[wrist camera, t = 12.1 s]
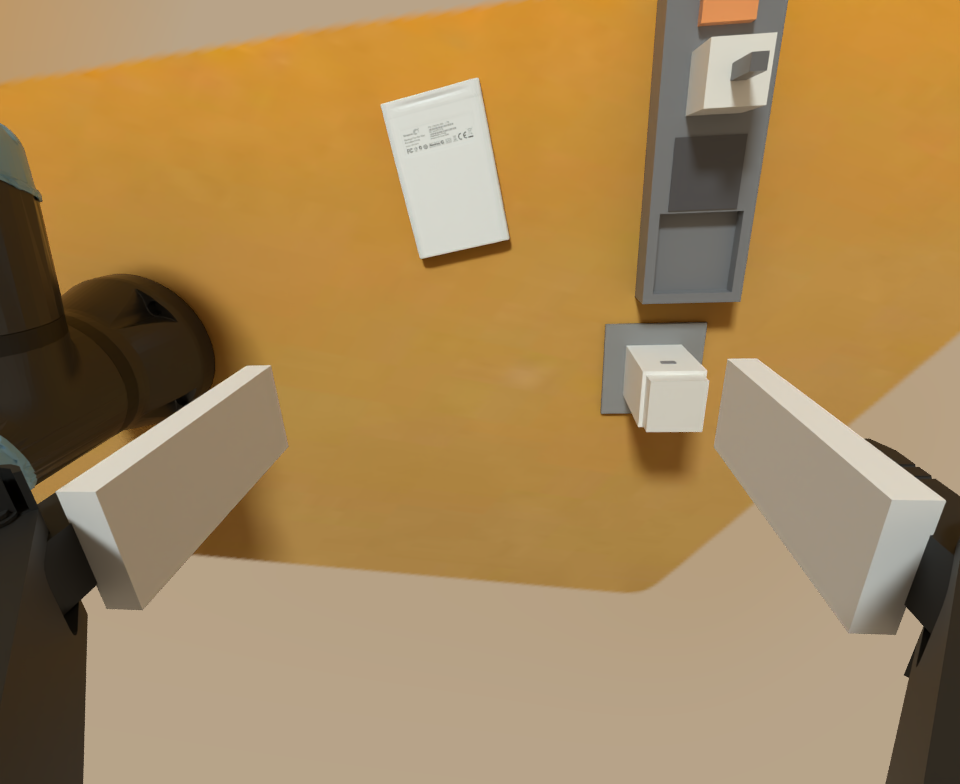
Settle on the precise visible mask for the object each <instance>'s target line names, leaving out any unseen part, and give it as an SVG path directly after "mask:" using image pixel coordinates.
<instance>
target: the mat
mask: <svg viewBox="0 0 960 784" xmlns="http://www.w3.org/2000/svg"><path fill="white" fill-rule="evenodd" d="M706 328H707V323H706V322H684V323H637V324H605V343H604V361H603V379H602V398H601V414H611V413H631V411H630V409H629V407H628V404H627V402H626V400H625V398H624V396H623V386H624V372H625V358H626V346H630V345H681V344H682V345H683V346H684V348H685V349H686V350H687V351H688V352H689V353H690V354H691V355H692V356H693V357H694V358H695V359H696V360H697V361H698V362H699V363H700V364H701V365H702V358H703V351H704V343H705V336H706Z"/></svg>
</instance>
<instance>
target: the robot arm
mask: <svg viewBox="0 0 960 784" xmlns="http://www.w3.org/2000/svg"><path fill="white" fill-rule="evenodd" d="M40 202H42V196H41V194H40V192H39V191H38V190H37V189H36V188H35V185H34V182H33V178H32V175H31V171H30V168H29V164H28V161H27V157H26V154H25V150H24V148H23V146H22V144H21V142H20V141H19V139H18V138H17V137H16V135H15V134H14V133H13V132H12V131H11V130H9V129H8V128H7V127H5V126H4V125H2V124H1V123H0V784H83V766H84V728H85V692H86V655H87V652H86V651H87V618H88V617H87V616H88V615H87V612H86V610H85V608H84V605H83V604H82V602H81V599H82V598H83V597H84V596H85V595H86V594H88V593H89V592H90V591H91V589H93V588H94V587H95V586H97V587H98V590H99V592H100V595H101V597H102V599H103V601H104V604H105V606H106V608H107V609H128V610H143V609H144V608H145V607H146V606H147V605H148V603H149V602H150V601H151V600H152V599H153V598H154V597H155V595H156V594H157V593H158V592H159V591H160V590H161V589H162V588H163V587H164V585H165V584H166V583H167V582H168V581H169V580H170V579H171V578H172V577H173V575H174V574H175V573H176V572H177V571H178V570H179V569H180V568H181V566H182V565H183V564H184V563H185V562H186V561H187V560H188V558H189V557H190V556H191V555H192V554H193V553H194V552H195V551H196V550H197V549H198V547H199V546H200V545H201V544H202V543H203V542H204V541H205V540H206V538H207V537H208V536H209V535H210V534H211V533H212V532H213V531H214V529H215V528H216V527H217V526H218V525H219V524H220V523H221V522H222V520H223V519H224V518H225V517H226V516H227V515H228V514H229V513H230V512H231V510H232V509H233V508H234V507H235V506H236V505H237V504H238V503H239V501H240V500H241V499H242V498H243V497H244V496H245V495H246V494H247V492H248V491H249V490H250V489H251V488H252V487H253V486H254V485H255V483H256V482H257V481H258V480H259V479H260V478H261V477H262V476H263V475H264V473H265V472H266V471H267V470H268V469H269V468H270V467H271V466H272V464H273V463H274V462H275V461H276V460H277V459H278V458H279V457H280V455H281V454H282V453H283V452H284V451H285V450H286V449H287V448H288V442H287V438H286V433H285V428H284V424H283V419H282V415H281V410H280V405H279V401H278V396H277V391H276V387H275V382H274V378H273V373H272V368H271V365H265V366H245V367H244V368H242V369H241V370H239V371H238V372H236V373H235V374H233V375H232V376H230V377H229V378H227V379H226V380H224V381H223V382H221V383H220V384H218V385H216V386H215V387H213V388H212V389H210V387H211V384H212V381H213V377H214V370H215V361H214V353H213V348H212V345H211V342H210V339H209V336H208V334H207V332H206V330H205V328H204V326H203V324H202V323H201V321H200V320H199V318H198V317H197V315H196V314H195V313H194V312H193V310H192V309H191V308H190V307H189V306H188V305H187V304H186V303H185V302H184V301H183V300H182V299H181V298H180V297H178V296H177V295H176V294H175V293H173V292H172V291H170V290H169V289H167V288H166V287H164V286H162V285H160V284H158V283H156V282H154V281H152V280H149V279H146V278H143V277H140V276H135V275H129V274H113V275H107V276H103V277H99V278H94V279H90V280H87V281H84V282H82V283H80V284H78V285H76V286H74V287H72V288H71V289H70V290H68V291H67V292H66V293H64V294H63V295H62V296H61V294H60V289H59V285H58V280H57V276H56V272H55V267H54V263H53V259H52V254H51V250H50V246H49V241H48V237H47V233H46V228H45V224H44V220H43V215H42V211H41V207H40ZM209 389H210V390H209ZM158 423H159V424H158ZM153 424H157V425H156V426H154V427H153V428H151V429H150V430H148V431H147V432H145V433H144V434H142V435H141V436H139V437H138V438H136V439H135V440H133V441H131V442H130V443H128V444H127V445H125V446H124V447H122V448H121V449H119V450H118V451H116V452H115V453H113V454H112V455H110V456H109V457H107V458H106V459H104V460H103V461H101V462H100V463H98V464H97V465H95V466H94V467H92V468H90V469H89V470H87V471H86V472H84V473H83V474H81V475H80V476H78V477H77V478H75V479H74V480H72V481H71V482H69V483H68V484H66V485H65V486H63V487H62V488H60V489H59V490H57V491H56V493H54V494H52V495H51V496H49V497H48V498H46V499H45V500H43V501H42V502H40V503H39V504H37V503H36V501H35V499H34V497H33V495H32V492H31V490H32V489H33V488H35V485H37V484H39V483H40V482H42V481H43V480H45V479H46V478H48V477H50V476H51V475H53V474H54V473H56V472H57V471H59V470H61V469H62V468H64V467H65V466H67V465H68V464H70V463H72V462H73V461H75V460H76V459H78V458H80V457H81V456H83V455H84V454H86V453H88V452H89V451H91V450H92V449H94V448H96V447H97V446H99V445H100V444H102V443H104V442H105V441H107V440H108V439H110V438H111V437H113V436H115V435H116V434H118V433H120V432H121V431H123V430H128V429H133V428H138V427H143V426H148V425H153ZM714 448H715V449H716V451H717V452H718V454H719V455H720V456H721V458H722V459H723V460H724V462H725V463H726V465H727V466H728V467H729V469H730V470H731V471H732V473H733V474H734V476H735V477H736V478H737V480H738V481H739V483H740V484H741V485H742V487H743V488H744V489H745V491H746V492H747V494H748V495H749V496H750V498H751V499H752V501H753V502H754V503H755V505H756V506H757V507H758V509H759V510H760V512H761V513H762V514H763V516H764V517H765V518H766V520H767V521H768V523H769V524H770V525H771V527H772V528H773V530H774V531H775V532H776V534H777V535H778V536H779V538H780V539H781V541H782V542H783V543H784V545H785V546H786V548H787V549H788V550H789V552H790V553H791V554H792V556H793V557H794V559H795V560H796V561H797V563H798V564H799V565H800V567H801V568H802V570H803V571H804V572H805V574H806V575H807V576H808V578H809V579H810V581H811V582H812V583H813V585H814V586H815V587H816V589H817V590H818V592H819V593H820V595H821V596H822V597H823V599H824V600H825V601H826V603H827V604H828V606H829V607H830V608H831V610H832V611H833V612H834V613H835V615H836V617H837V618H838V619H839V620H840V622H841V624H842V625H843V626H844V628H845V629H846V630H847V632H848V633H859V634H888V635H896V632H897V630H898V627H899V624H900V622H901V619H902V617H903V614H904V611H905V608H906V607H907V608H908V609H909V610H910V612H912V614H913V615H914V616H915V617H916V618H917V619H918V620H919V621H920V623H921V624H922V625H923V626H924V627H923V629H922V632H921V634H920V637H919V639H918V642H917V644H916V646H915V649H914V652H913V654H912V656H911V659H910V662H909V664H908V666H907V669H906V671H905V674H904V675H905V676H907V677H909V681H908V685H907V690H906V695H905V699H904V703H903V708H902V713H901V717H900V722H899V726H898V730H897V735H896V739H895V744H894V748H893V753H892V757H891V762H890V766H889V770H888V776H887V780H886V784H960V496H958V495H957V494H956V493H954V492H953V491H952V490H950V489H949V488H948V487H946V486H945V485H943V484H942V483H941V482H939V481H938V480H936V479H932V478H931V475H929V474H928V473H927V472H925V471H924V470H922V469H921V468H920V467H915V464H914V463H913V462H911V461H910V460H908V459H907V458H906V457H904V456H903V455H902V454H900V453H899V452H897V451H896V450H893V449H891V448H889V447H887V446H885V445H882V444H880V443H878V442H876V441H873V440H871V439H863V438H862V437H861V436H859V435H858V434H856V433H855V432H854V431H853V430H851V429H850V428H849V427H847V426H846V425H845V424H843V423H842V422H841V421H839V420H838V419H837V418H835V417H834V416H833V415H831V414H830V413H829V412H827V411H826V410H825V409H823V408H822V407H821V406H819V405H818V404H817V403H815V402H814V401H813V400H811V399H810V398H809V397H807V396H806V395H805V394H803V393H802V392H801V391H799V390H798V389H797V388H795V387H794V386H793V385H791V384H790V383H789V382H787V381H786V380H785V379H783V378H782V377H781V376H779V375H778V374H777V373H775V372H774V371H773V370H771V369H770V368H769V367H767V366H766V365H765V364H763V363H762V362H761V361H759V360H758V359H728V360H727V366H726V372H725V379H724V385H723V392H722V398H721V404H720V411H719V417H718V424H717V430H716V436H715V443H714Z"/></svg>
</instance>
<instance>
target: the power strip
mask: <svg viewBox="0 0 960 784" xmlns="http://www.w3.org/2000/svg"><path fill="white" fill-rule="evenodd" d="M787 3H788V0H658V2H657V15H656V29H655V42H654V55H653V68H652V81H651V94H650V107H649V120H648V133H647V147H646V160H645V173H644V186H643V199H642V212H641V225H640V238H639V251H638V265H637V278H636V291H635V297H636V298H637V299H638V300H639V301H640V302H641V303H642V304H666V303H707V302H740V300H741V294H742V288H743V281H744V275H745V269H746V262H747V256H748V250H749V243H750V237H751V231H752V224H753V218H754V212H755V205H756V199H757V193H758V187H759V180H760V174H761V168H762V161H763V155H764V149H765V142H766V136H767V130H768V123H769V117H770V111H771V104H772V98H773V92H774V85H775V79H776V73H777V66H778V60H779V54H780V48H781V41H782V35H783V29H784V22H785V16H786V10H787Z"/></svg>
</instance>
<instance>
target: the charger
mask: <svg viewBox="0 0 960 784" xmlns="http://www.w3.org/2000/svg"><path fill="white" fill-rule="evenodd" d="M706 376H707V370H706V369H705V368H704V367H703V366H702V365H701V364H700V363H699V362H698V361H697V360H696V359H695V358H694V357H693V356H692V355H691V354H690V353H689V352H688V351H687V350H686V349H685V348H684V346H683V345H682V344H681V345H630V346H626V358H625V372H624V386H623V396H624V398H625V400H626V402H627V404H628V407H629V409H630V411H631V413H632V415H633V417H634V419H635V421H636V424H637V426H638V427H644V429H645V431H646V432H702V429H703V422H704V415H705V408H706V401H707V394H708V387H709V380H708V379H707V378H706Z"/></svg>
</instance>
